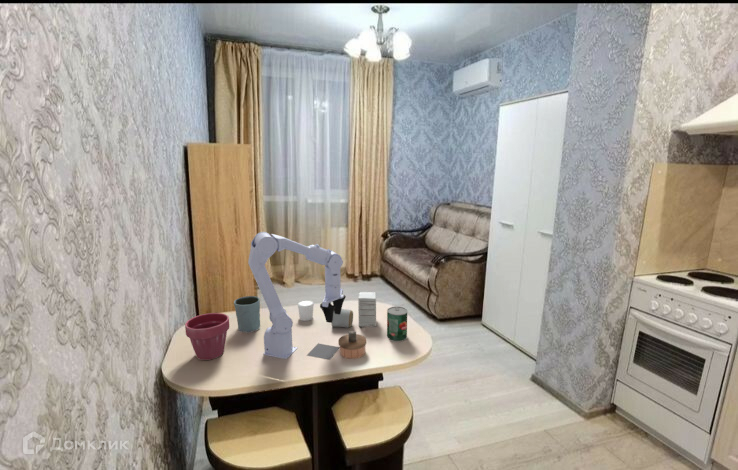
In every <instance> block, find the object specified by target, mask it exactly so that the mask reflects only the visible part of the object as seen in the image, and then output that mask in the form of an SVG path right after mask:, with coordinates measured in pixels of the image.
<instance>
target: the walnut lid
mask: <svg viewBox="0 0 738 470" xmlns="http://www.w3.org/2000/svg"><path fill="white" fill-rule="evenodd" d="M366 345H367V338H366V337H365V336H364V335H361V334H359V333H357V331H355V330H349V331H348V334H344V335H342V336H340V337H339V339H338V347H342V348H344V349H350V350H354V349H359V348H362V347H364V346H365V347H366Z"/></svg>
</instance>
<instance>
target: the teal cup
mask: <svg viewBox="0 0 738 470" xmlns="http://www.w3.org/2000/svg"><path fill="white" fill-rule="evenodd" d="M260 301H261V299H260V297H258V296H254V295H249V296H248V295H247V296H243V297H242V296H241V297H239V298H237V299H234V301H233V305H234V310H235V316H236V320H237V321H236V322H237V328H238V331H239V332H242V333H252V332H255V331H258V330H259V329H260V327H261V313H260V312H261V309H260V308H261V302H260Z"/></svg>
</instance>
